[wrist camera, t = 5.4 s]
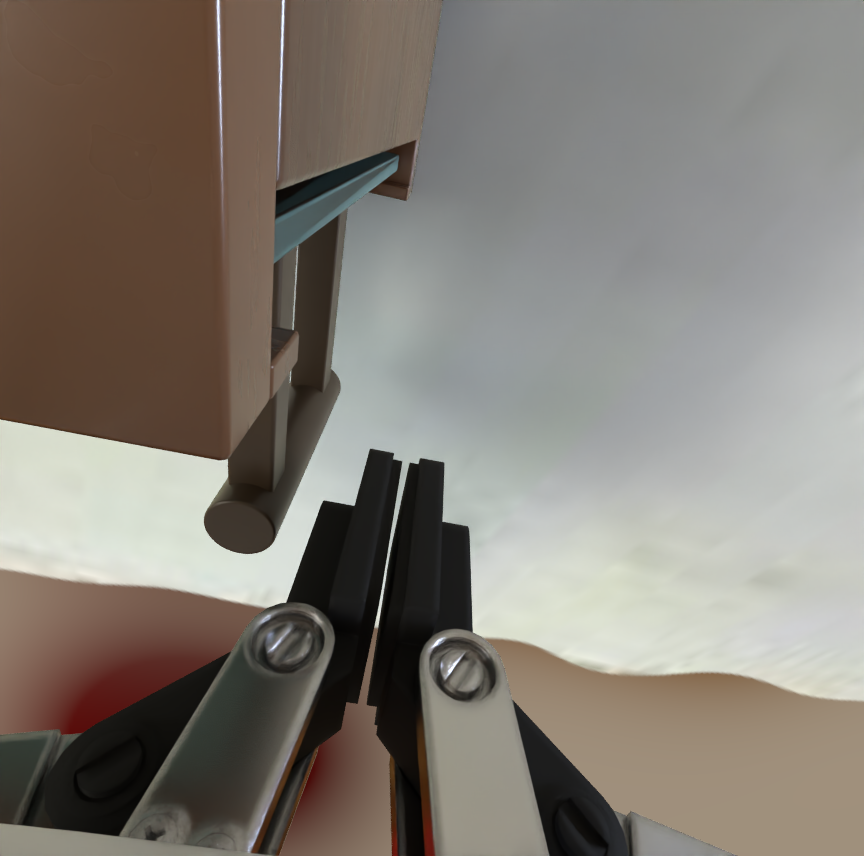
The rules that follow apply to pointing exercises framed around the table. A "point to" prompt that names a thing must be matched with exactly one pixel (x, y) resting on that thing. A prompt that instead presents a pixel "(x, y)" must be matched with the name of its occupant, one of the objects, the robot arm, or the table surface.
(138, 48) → the cabinet
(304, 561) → the robot arm
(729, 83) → the table surface
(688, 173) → the table surface
